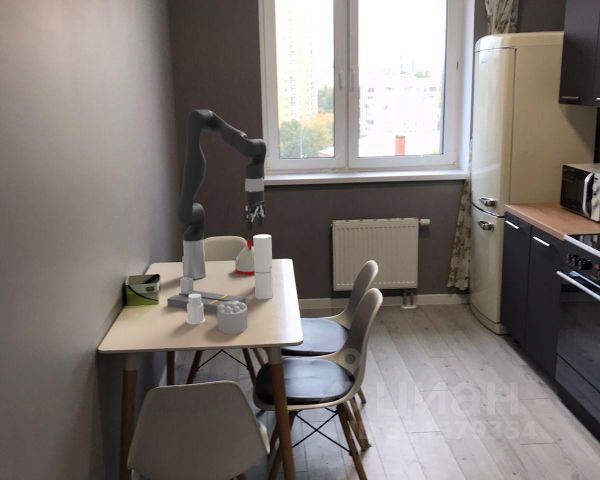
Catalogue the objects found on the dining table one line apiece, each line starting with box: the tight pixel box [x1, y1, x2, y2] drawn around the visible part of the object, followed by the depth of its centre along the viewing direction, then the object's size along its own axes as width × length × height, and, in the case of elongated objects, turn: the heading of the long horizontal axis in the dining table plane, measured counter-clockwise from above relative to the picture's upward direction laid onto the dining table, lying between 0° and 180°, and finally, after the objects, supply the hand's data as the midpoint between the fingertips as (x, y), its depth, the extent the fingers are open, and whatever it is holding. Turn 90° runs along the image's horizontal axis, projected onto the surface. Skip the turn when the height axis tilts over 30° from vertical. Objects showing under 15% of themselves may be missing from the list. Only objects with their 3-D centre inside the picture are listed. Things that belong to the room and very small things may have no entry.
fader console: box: [166, 290, 247, 314], centre depth 267 cm, size 28×13×3 cm, turn 63°
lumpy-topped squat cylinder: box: [216, 301, 249, 335], centre depth 241 cm, size 10×13×9 cm
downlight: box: [185, 294, 206, 325], centre depth 248 cm, size 8×7×10 cm
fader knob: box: [179, 276, 195, 296], centre depth 270 cm, size 4×3×9 cm
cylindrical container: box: [252, 233, 274, 300], centre depth 274 cm, size 7×7×25 cm
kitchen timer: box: [234, 238, 255, 276], centre depth 315 cm, size 14×14×15 cm
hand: (255, 228), depth 278 cm, fingers open, 8 cm apart
